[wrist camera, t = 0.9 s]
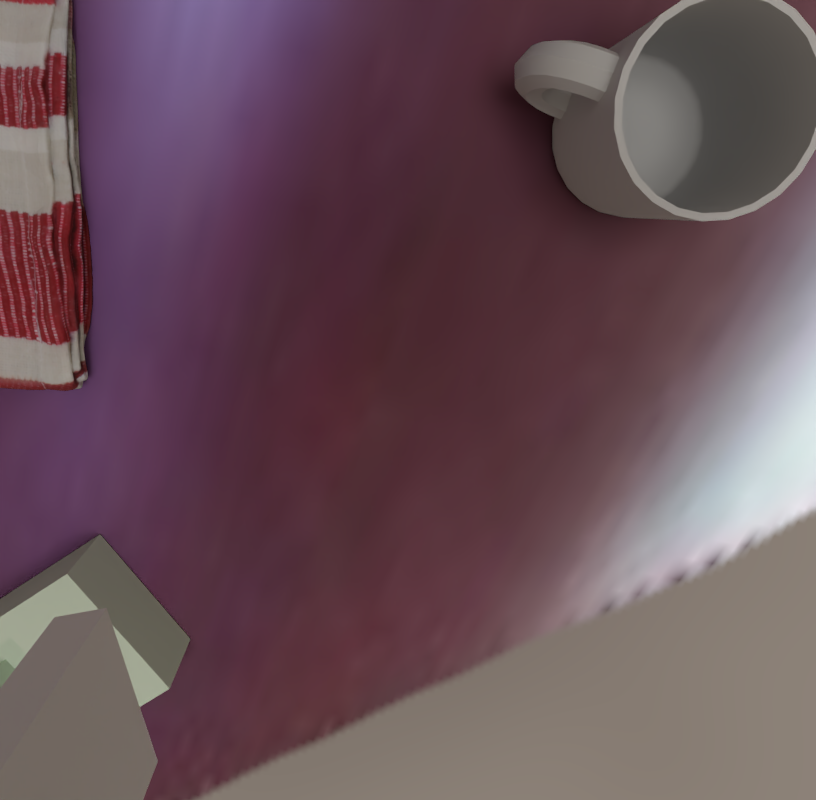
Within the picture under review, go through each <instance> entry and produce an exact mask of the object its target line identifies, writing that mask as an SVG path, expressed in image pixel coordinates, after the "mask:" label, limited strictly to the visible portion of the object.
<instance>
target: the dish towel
mask: <svg viewBox="0 0 816 800" xmlns="http://www.w3.org/2000/svg"><path fill="white" fill-rule="evenodd" d="M72 19H73V8H72V0H0V388H9V389H26V390H45V389H51V390H62V391H68V390H73V389H80V388H81V387H82V385H83V381H84V380H87V378H88V371H87V366H86V361H85V355H84V343H85V339H86V336H87V333H88V330H89V327H90V320H91V312H92V279H93V278H92V264H91V247H90V237H89V228H88V221H87V216H86V212H85V208H84V205H83V200H82V190H81V178H80V166H79V145H78V108H77V87H76V57H75V46H74V40H73V36H72Z"/></svg>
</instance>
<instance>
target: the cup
mask: <svg viewBox="0 0 816 800" xmlns="http://www.w3.org/2000/svg"><path fill="white" fill-rule="evenodd" d="M515 89H516V90H517V91H518V93H519V94H520V95H521V96H522V97H523V98H524V99H525V100H526V101H527V102H528V103H529V104H531V105H532V106H534V107H535V108H536V109H538V110H540V111H542V112H544V113H546V114H548V115H551V116H553V117H555V118H554V122H553V126H552V150H553V154H554V158H555V162H556V166H557V170H558V172H559V173H560V175H561V177H562V179H563V181H564V183H565V184H566V186H567V188H568V189H569V190H570V191H571V192H572V193H573V194H574V195H575V196H576V197H577V198H578V199H579V200H580V201H581V202H582V203H584V204H586V205H588V206H589V207H591V208H593V209H595V210H596V211H598V212H601V213H605V214H610V215H614V216H619V217H623V218H645V219H666V220H688V221H713V220H729V219H732V218H735V217H738V216H741V215H744V214H747V213H750V212H753V211H755V210H757V209H759V208H760V207H762V206H763V205H765V204H766V203H768V202H770V201H771V200H773V199H774V198H776V197H778V196H779V195H780V194H781V193H782V192H783V191H784V190H785V189H786V188H787V187H788V186H789V185H790V184H791V183H792V182H793V181H794V180H795V179H796V178H797V177H798V176H799V175H800V174H801V172H802V170H803V169H804V167H805V166H806V164H807V162H808V161H809V159H810V157H811V156H812V154H813V153H814V151H815V149H816V35H815V33H814V31H813V30H812V28H811V27H810V26H809V25H808V24H807V22H806V21H805V20H804V19H803V18H802V16H801V15H800V14H799V13H798V12H797V10H796V9H795V8H793V7H791V6H790V5H788V4H787V3H785V2H784V1H782V0H682V1H680V2H679V3H677V4H676V5H674V6H673V7H671V8H670V9H668V10H667V11H665V12H664V13H662V14H661V15H659V16H658V17H656V18H655V19H653V20H652V21H650V22H649V23H647V24H646V25H644V26H643V27H641V28H640V29H638V30H637V31H635V32H634V33H632V34H631V35H629V36H628V37H626V38H625V39H623V40H622V41H620V42H619V43H617V44H616V45H614V46H613V47H611V48H610V49H606V48H603V47H600V46H597V45H593V44H590V43H587V42H580V41H572V40H562V41H543V42H540V43H537V44H534V45H532V46H531V47H530V48H529V49H528V50H527V51H526V52H525V53H524V54H523V55H522V57H521V58H520V59H519V60H518V61H517V62H516V64H515Z"/></svg>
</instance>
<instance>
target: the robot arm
mask: <svg viewBox="0 0 816 800" xmlns="http://www.w3.org/2000/svg"><path fill="white" fill-rule="evenodd" d="M157 762H158V761H157V758H156V755H155V752H154V749H153V746H152V743H151V740H150V737H149V734H148V731H147V728H146V725H145V722H144V719H143V716H142V713H141V710H140V707H139V704H138V701H137V698H136V695H135V692H134V689H133V686H132V683H131V680H130V677H129V674H128V671H127V667H126V664H125V661H124V658H123V655H122V652H121V649H120V646H119V643H118V640H117V637H116V634H115V631H114V628H113V625H112V622H111V619H110V616H109V613H108V610H107V608H103V609H97V610H92V611H86V612H81V613H75V614H69V615H64V616H58V617H54V618H53V620H52V621H51V622H50V624H49V625H48V626H47V628H46V629H45V630H44V632H43V633H42V634H41V636H40V637H39V638H38V639H37V641H36V642H35V643H34V645H33V646H32V647H31V649H30V650H29V651H28V653H27V654H26V655H25V656H24V658H23V659H22V660H21V662H20V663H19V664H18V666H17V667H16V668H15V670H14V671H13V672H12V674H11V675H10V676H9V677H8V679H7V680H6V681H5V683H4V684H3V685H2V687H1V688H0V800H143V798H144V796H145V793H146V790H147V788H148V785H149V783H150V780H151V777H152V775H153V772H154V770H155V767H156V764H157Z"/></svg>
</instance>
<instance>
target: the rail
mask: <svg viewBox="0 0 816 800" xmlns="http://www.w3.org/2000/svg"><path fill="white" fill-rule="evenodd" d="M103 608H107V610H108V613H109V616H110V619H111V622H112V625H113V628H114V631H115V634H116V637H117V640H118V643H119V646H120V649H121V652H122V655H123V658H124V661H125V664H126V667H127V671H128V674H129V677H130V680H131V683H132V686H133V689H134V692H135V695H136V698H137V701H138V704H139V707H140V706H142V705H144V704H145V703H147V702H149V701H150V700H152V699H153V698H155V697H157V696H158V695H160V694H162V693H163V692H165V691H167V690H168V689H170V686H171V684H172V682H173V679H174V677H175V675H176V672H177V670H178V667H179V665H180V663H181V660H182V658H183V656H184V653H185V651H186V649H187V646H188V644H189V641H190V638H189V637H188V636H187V634H186V633H185V632H184V631H183V630H182V629H181V628H180V626H179V625H178V624H177V623H176V622H175V621H174V619H173V618H172V617H171V616H170V615H169V614H168V612H167V611H166V610H165V609H164V608H163V607H162V605H161V604H160V603H159V602H158V601H157V600H156V599H155V597H154V596H153V595H152V594H151V593H150V592H149V590H148V589H147V588H146V587H145V586H144V585H143V583H142V582H141V581H140V580H139V579H138V578H137V576H136V575H135V574H134V573H133V572H132V571H131V569H130V568H129V567H128V566H127V565H126V564H125V563H124V561H123V560H122V559H121V558H120V557H119V556H118V554H117V553H116V552H115V551H114V550H113V549H112V547H111V546H110V545H109V544H108V543H107V542H106V540H105V539H104V538H103V537H102V536H101V535H98V536H97V537H95V538H93V539H92V540H90V541H89V542H87V543H86V544H84V545H83V546H81V547H80V548H78V549H76V550H75V551H73V552H72V553H70V554H69V555H67V556H66V557H64V558H63V559H61V560H60V561H58V562H56V563H55V564H53V565H52V566H50V567H49V568H47V569H46V570H44V571H43V572H41V573H39V574H38V575H36V576H35V577H33V578H32V579H30V580H29V581H27V582H26V583H24V584H22V585H21V586H19V587H18V588H16V589H15V590H13V591H12V592H10V593H9V594H7V595H6V596H4V597H2V598H1V599H0V688H1V687H2V685H3V684H4V683H5V681H6V680H7V679H8V677H9V676H10V675H11V674H12V672H13V671H14V670H15V668H16V667H17V666H18V664H19V663H20V662H21V660H22V659H23V658H24V656H25V655H26V654H27V653H28V651H29V650H30V649H31V647H32V646H33V645H34V643H35V642H36V641H37V639H38V638H39V637H40V636H41V634H42V633H43V632H44V630H45V629H46V628H47V626H48V625H49V624H50V622H51V621H52V620H53V618H54V617H58V616H64V615H69V614H75V613H81V612H86V611H92V610H97V609H103Z"/></svg>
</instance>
